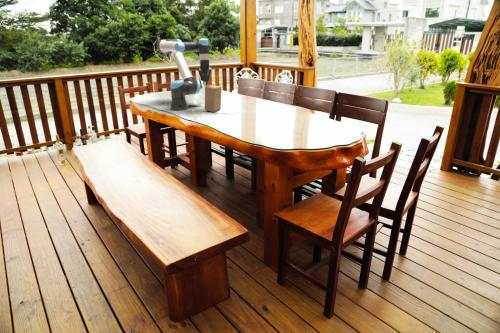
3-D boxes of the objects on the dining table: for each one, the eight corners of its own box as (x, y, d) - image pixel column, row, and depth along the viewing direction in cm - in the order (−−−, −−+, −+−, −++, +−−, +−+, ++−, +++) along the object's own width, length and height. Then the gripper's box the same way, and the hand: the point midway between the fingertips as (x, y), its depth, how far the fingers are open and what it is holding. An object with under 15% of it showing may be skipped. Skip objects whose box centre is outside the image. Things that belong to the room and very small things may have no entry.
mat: (215, 112, 266) (215, 112, 266) (222, 109, 278) (222, 108, 278) (234, 113, 261) (234, 113, 261) (240, 110, 273) (240, 109, 273)
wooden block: (213, 112, 267) (214, 87, 259) (204, 110, 272) (204, 85, 264) (221, 110, 275) (221, 86, 266) (211, 108, 279) (212, 84, 271)
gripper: (195, 59, 258) (196, 89, 266) (209, 59, 254) (211, 90, 262) (199, 59, 265) (201, 88, 273) (213, 59, 261) (214, 89, 269)
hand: (205, 89), depth 268 cm, fingers closed
